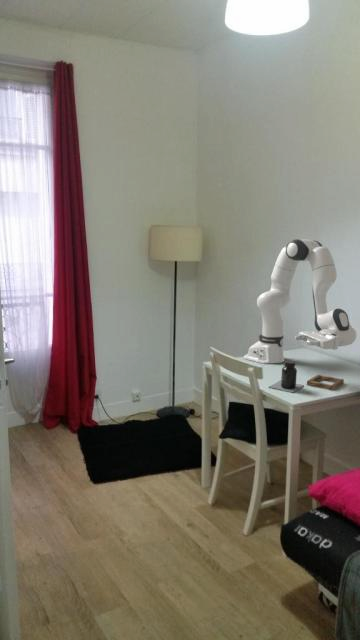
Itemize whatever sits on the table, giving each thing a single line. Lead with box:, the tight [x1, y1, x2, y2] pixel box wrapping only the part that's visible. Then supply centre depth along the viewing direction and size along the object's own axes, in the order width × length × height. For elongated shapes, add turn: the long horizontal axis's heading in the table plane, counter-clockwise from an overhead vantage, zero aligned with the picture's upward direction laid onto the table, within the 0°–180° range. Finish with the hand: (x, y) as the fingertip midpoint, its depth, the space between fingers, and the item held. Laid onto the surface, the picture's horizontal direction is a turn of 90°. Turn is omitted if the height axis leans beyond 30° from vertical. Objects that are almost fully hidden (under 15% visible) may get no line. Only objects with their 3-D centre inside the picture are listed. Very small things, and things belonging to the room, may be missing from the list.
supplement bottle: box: [280, 360, 298, 389], centre depth 246 cm, size 7×7×12 cm
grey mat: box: [268, 379, 305, 394], centre depth 249 cm, size 12×12×1 cm
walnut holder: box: [306, 374, 345, 391], centre depth 253 cm, size 13×13×2 cm
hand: (301, 340), depth 248 cm, fingers open, 8 cm apart
